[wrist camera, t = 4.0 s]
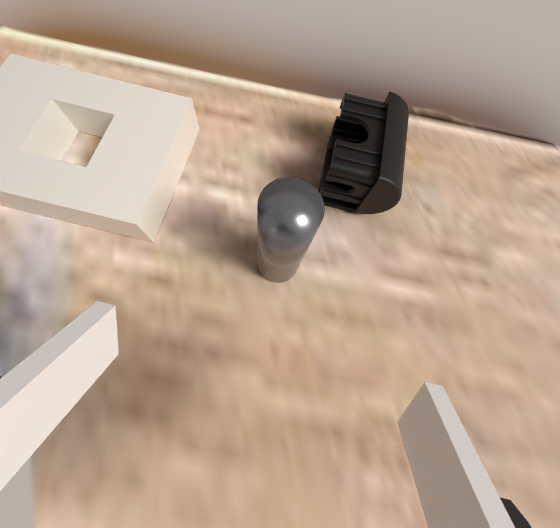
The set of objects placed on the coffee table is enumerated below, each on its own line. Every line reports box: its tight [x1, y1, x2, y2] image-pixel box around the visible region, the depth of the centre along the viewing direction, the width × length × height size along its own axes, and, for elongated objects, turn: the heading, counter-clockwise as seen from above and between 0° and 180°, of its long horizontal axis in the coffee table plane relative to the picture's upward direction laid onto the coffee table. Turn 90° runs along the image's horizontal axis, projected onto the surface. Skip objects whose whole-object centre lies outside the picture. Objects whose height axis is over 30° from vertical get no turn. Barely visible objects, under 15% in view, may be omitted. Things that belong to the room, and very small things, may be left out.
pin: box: [257, 177, 325, 282], centre depth 21 cm, size 4×4×11 cm
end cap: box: [319, 92, 409, 214], centre depth 27 cm, size 10×7×7 cm
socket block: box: [0, 54, 199, 242], centre depth 26 cm, size 18×14×4 cm
